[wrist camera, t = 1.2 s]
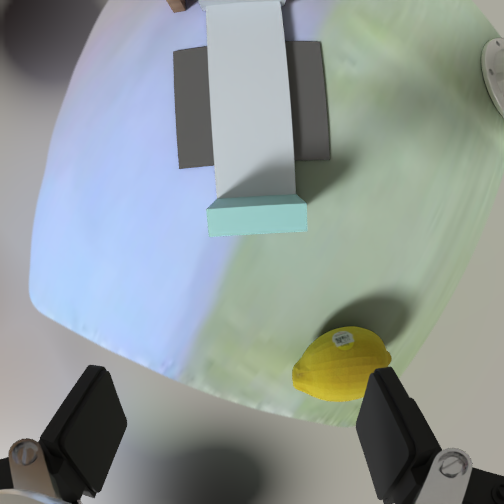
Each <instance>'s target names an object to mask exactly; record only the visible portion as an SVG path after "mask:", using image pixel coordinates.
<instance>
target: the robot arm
mask: <svg viewBox="0 0 504 504" xmlns="http://www.w3.org/2000/svg"><path fill="white" fill-rule="evenodd" d="M481 64H482V72H483V77H484V80H485V84H486V87H487V90H488V92H489V95H490V97H491V99H492V101H493V103H494V105H495V106H496V108H497V110H498V111H499V113H500V114H501V115H502V117H503V118H504V39H503V38H495V39H492V40H490V41H488V42H487V43H486V44H485V45H484V48H483V50H482V56H481ZM126 427H127V420H126V417H125V414H124V412H123V409H122V406H121V404H120V401H119V398H118V396H117V393H116V390H115V387H114V384H113V381H112V378H111V375H110V373H109V371H106V369H105V368H104V367H102V366H96V365H89V366H88V367H87V368H86V370H85V371H84V373H83V374H82V376H81V377H80V378H79V380H78V381H77V383H76V384H75V386H74V387H73V388H72V390H71V391H70V393H69V394H68V396H67V397H66V399H65V400H64V401H63V403H62V404H61V406H60V408H59V409H58V411H57V412H56V414H55V415H54V417H53V418H52V420H51V421H50V423H49V424H48V426H47V427H46V429H45V430H44V432H43V433H42V435H41V437H40V440H39V442H37V441H35V440H33V439H28V438H26V439H21V440H18V441H16V442H15V443H14V444H13V445H12V446H11V447H10V450H9V457H7V458H4V459H0V504H82V502H81V500H80V498H81V496H82V494H83V495H86V496H89V497H92V498H95V496H96V493H97V492H100V491H101V489H102V487H103V484H104V482H105V479H106V477H107V474H108V471H109V469H110V466H111V464H112V461H113V459H114V457H115V454H116V452H117V449H118V447H119V444H120V442H121V439H122V437H123V435H124V432H125V430H126ZM356 430H357V433H358V436H359V440H360V443H361V446H362V449H363V452H364V455H365V458H366V461H367V464H368V468H369V471H370V474H371V477H372V481H373V484H374V487H375V491H376V494H377V497H378V499H379V500H382V499H383V502H384V504H393V503H395V504H504V476H501V475H497V474H493V473H490V472H486V471H483V470H479V469H476V468H473V467H472V461H471V458H470V457H469V455H468V454H467V453H466V452H464V451H463V450H460V449H457V448H448V449H445V450H442V449H441V447H440V445H439V443H438V441H437V440H436V438H435V436H434V434H433V432H432V430H431V429H430V427H429V425H428V423H427V421H426V420H425V418H424V416H423V414H422V412H421V411H420V409H419V407H418V406H417V404H416V402H415V401H414V399H412V398H409V396H408V394H407V392H406V391H405V389H404V387H403V385H402V384H401V382H400V380H399V378H398V377H397V375H396V373H395V372H394V370H393V368H392V367H384V368H377V369H375V370H374V373H371V374H370V376H369V379H368V383H367V387H366V391H365V394H364V398H363V401H362V405H361V408H360V412H359V415H358V418H357V422H356Z"/></svg>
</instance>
